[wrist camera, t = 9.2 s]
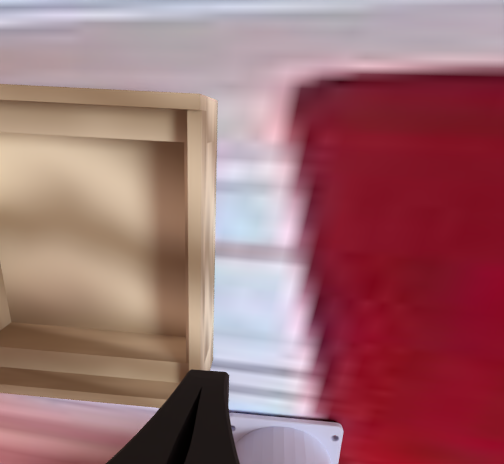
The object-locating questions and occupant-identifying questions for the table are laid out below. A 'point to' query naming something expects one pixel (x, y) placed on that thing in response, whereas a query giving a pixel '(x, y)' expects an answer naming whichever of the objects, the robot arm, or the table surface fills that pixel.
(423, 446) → the table surface
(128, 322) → the birch box
